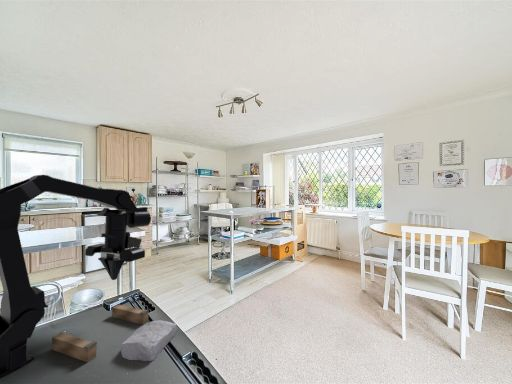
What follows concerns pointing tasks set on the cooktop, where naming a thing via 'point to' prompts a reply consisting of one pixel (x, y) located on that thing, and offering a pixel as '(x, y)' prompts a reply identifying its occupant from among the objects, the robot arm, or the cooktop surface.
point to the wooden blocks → (88, 349)
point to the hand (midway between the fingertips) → (114, 279)
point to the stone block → (148, 341)
